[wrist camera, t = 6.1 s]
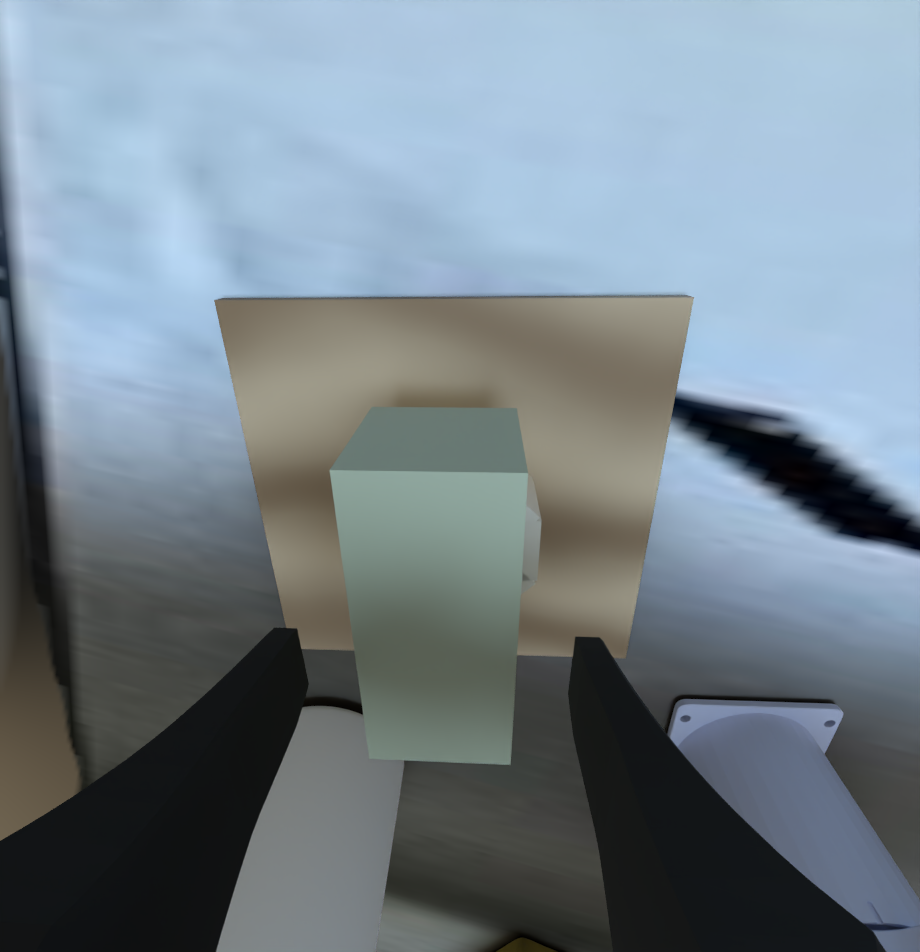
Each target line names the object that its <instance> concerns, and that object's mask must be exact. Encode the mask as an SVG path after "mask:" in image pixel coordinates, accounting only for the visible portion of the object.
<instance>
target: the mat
mask: <svg viewBox="0 0 920 952" xmlns="http://www.w3.org/2000/svg"><path fill="white" fill-rule="evenodd" d="M693 299H694V297H691V296H687V295H677V296H514V297H351V298H222V299H218V300H214V301H215V305H216V310H217V314H218V319H219V324H220V328H221V333H222V337H223V342H224V346H225V351H226V355H227V360H228V365H229V369H230V374H231V378H232V383H233V387H234V392H235V396H236V401H237V406H238V410H239V415H240V419H241V424H242V428H243V433H244V437H245V442H246V447H247V451H248V456H249V460H250V465H251V469H252V474H253V478H254V483H255V487H256V492H257V497H258V501H259V506H260V510H261V515H262V519H263V524H264V528H265V533H266V538H267V542H268V547H269V551H270V556H271V560H272V565H273V569H274V574H275V579H276V583H277V588H278V592H279V597H280V601H281V606H282V610H283V615H284V619H285V624H286V628H297V630H298V635H299V640H300V645H301V649H321V650H354V644H353V637H352V630H351V622H350V615H349V608H348V601H347V593H346V586H345V579H344V571H343V564H342V557H341V550H340V542H339V535H338V528H337V521H336V513H335V506H334V499H333V491H332V484H331V477H330V469H331V467H332V466H333V464H334V463H335V461H336V460H337V458H338V457H339V455H340V454H341V452H342V451H343V449H344V448H345V446H346V445H347V443H348V442H349V440H350V439H351V437H352V436H353V434H354V433H355V431H356V430H357V428H358V427H359V425H360V424H361V422H362V421H363V419H364V418H365V416H366V415H367V413H368V412H369V410H370V409H371V407H447V408H517V413H518V419H519V424H520V430H521V436H522V441H523V447H524V452H525V458H526V464H527V469H528V474H529V475H530V476H531V477H532V478H533V481H534V485H535V490H536V495H537V500H538V505H539V510H540V516H541V521H542V522H541V536H540V550H539V564H538V577H537V581H535V585H533V586H532V587H531V588H529V589H528V590H526V591H525V592H524V593H522V594H521V599H520V615H519V632H518V648H517V655H528V656H563V657H573V651H574V642H575V637H600V638H601V639H602V640H603V641H604V643H605V645H606V646H607V648H608V650H609V652H610V653H611V655H612V656H613V658H626V654H627V649H628V644H629V638H630V633H631V628H632V622H633V617H634V612H635V606H636V601H637V596H638V591H639V585H640V580H641V575H642V569H643V564H644V559H645V553H646V548H647V543H648V538H649V532H650V527H651V522H652V516H653V511H654V506H655V500H656V495H657V490H658V484H659V479H660V474H661V469H662V463H663V458H664V453H665V447H666V442H667V437H668V431H669V426H670V421H671V416H672V410H673V405H674V400H675V394H676V389H677V384H678V378H679V373H680V368H681V363H682V357H683V352H684V347H685V341H686V336H687V331H688V325H689V320H690V315H691V310H692V304H693Z"/></svg>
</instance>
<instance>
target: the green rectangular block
mask: <svg viewBox="0 0 920 952" xmlns="http://www.w3.org/2000/svg"><path fill="white" fill-rule="evenodd" d="M330 477H331V484H332V491H333V499H334V506H335V513H336V521H337V528H338V535H339V542H340V550H341V557H342V564H343V571H344V579H345V586H346V593H347V601H348V608H349V615H350V622H351V630H352V637H353V644H354V651H355V659H356V666H357V673H358V680H359V688H360V695H361V702H362V710H363V717H364V724H365V731H366V739H367V746H368V753H369V759H385V760H409V761H432V762H456V763H480V764H503V765H510V764H511V747H512V731H513V714H514V698H515V681H516V665H517V648H518V632H519V615H520V599H521V583H522V566H523V550H524V533H525V517H526V500H527V484H528V469H527V464H526V458H525V452H524V447H523V441H522V436H521V430H520V424H519V419H518V413H517V408H447V407H371V409H370V410H369V412H368V413H367V415H366V416H365V418H364V419H363V421H362V422H361V424H360V425H359V427H358V428H357V430H356V431H355V433H354V434H353V436H352V437H351V439H350V440H349V442H348V443H347V445H346V446H345V448H344V449H343V451H342V452H341V454H340V455H339V457H338V458H337V460H336V461H335V463H334V464H333V466H332V467H331V469H330Z"/></svg>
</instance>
